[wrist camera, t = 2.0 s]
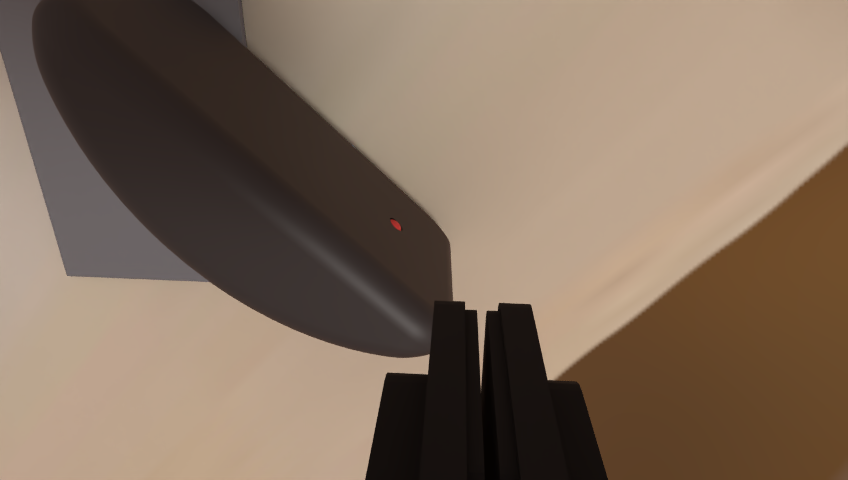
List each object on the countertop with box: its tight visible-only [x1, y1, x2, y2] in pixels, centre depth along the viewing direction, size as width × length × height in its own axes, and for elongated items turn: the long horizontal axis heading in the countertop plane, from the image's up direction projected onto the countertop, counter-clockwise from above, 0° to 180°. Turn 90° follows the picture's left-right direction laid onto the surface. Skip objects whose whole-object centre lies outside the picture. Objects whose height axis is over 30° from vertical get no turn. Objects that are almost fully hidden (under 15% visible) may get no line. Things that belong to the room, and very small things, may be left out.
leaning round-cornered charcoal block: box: [32, 0, 453, 358], centre depth 21 cm, size 16×5×9 cm, turn 45°
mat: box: [0, 0, 247, 282], centre depth 26 cm, size 11×16×1 cm
